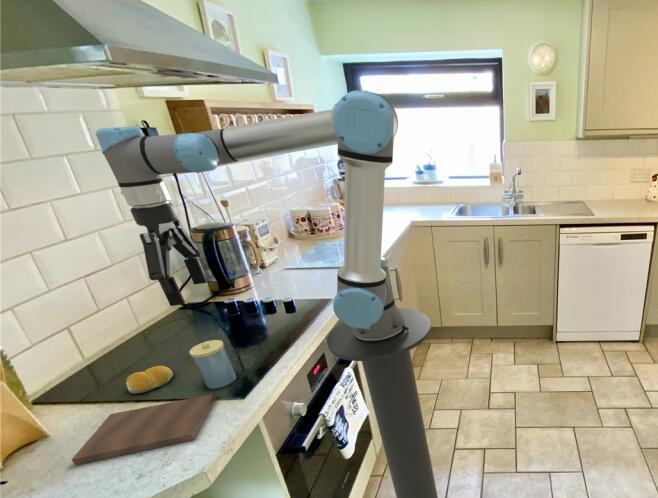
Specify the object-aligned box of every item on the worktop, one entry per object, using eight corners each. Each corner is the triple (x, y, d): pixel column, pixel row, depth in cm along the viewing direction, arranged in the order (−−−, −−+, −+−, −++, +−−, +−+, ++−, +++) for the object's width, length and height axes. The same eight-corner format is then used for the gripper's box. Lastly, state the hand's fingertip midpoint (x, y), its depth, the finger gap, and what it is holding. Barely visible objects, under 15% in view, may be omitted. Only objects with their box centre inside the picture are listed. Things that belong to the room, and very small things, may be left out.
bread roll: (178, 380, 104) (171, 367, 102) (133, 398, 98) (125, 385, 96) (168, 369, 109) (162, 356, 107) (125, 386, 103) (118, 372, 101)
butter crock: (240, 370, 107) (224, 333, 102) (233, 385, 101) (215, 346, 96) (210, 376, 105) (193, 338, 100) (201, 391, 99) (182, 352, 94)
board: (215, 399, 96) (213, 394, 96) (193, 439, 84) (190, 434, 84) (114, 419, 92) (110, 413, 91) (75, 465, 80) (71, 459, 79)
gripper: (157, 196, 101) (192, 277, 111) (96, 219, 80) (146, 317, 89) (192, 193, 103) (224, 273, 113) (141, 214, 81) (186, 312, 91)
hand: (190, 293), depth 101 cm, fingers open, 13 cm apart
